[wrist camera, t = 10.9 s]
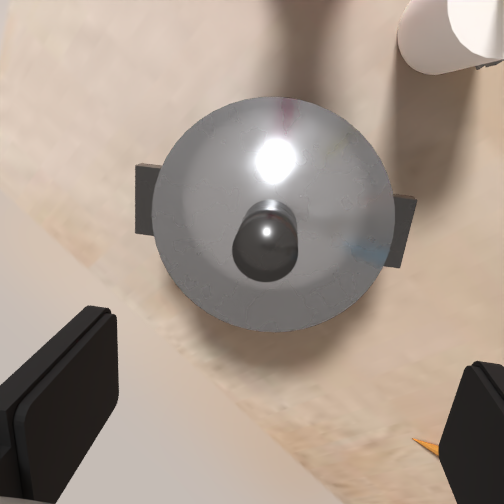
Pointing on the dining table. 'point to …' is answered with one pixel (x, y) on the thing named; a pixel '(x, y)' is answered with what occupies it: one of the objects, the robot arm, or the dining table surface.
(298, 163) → the lid
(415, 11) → the candle
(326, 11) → the dining table surface
